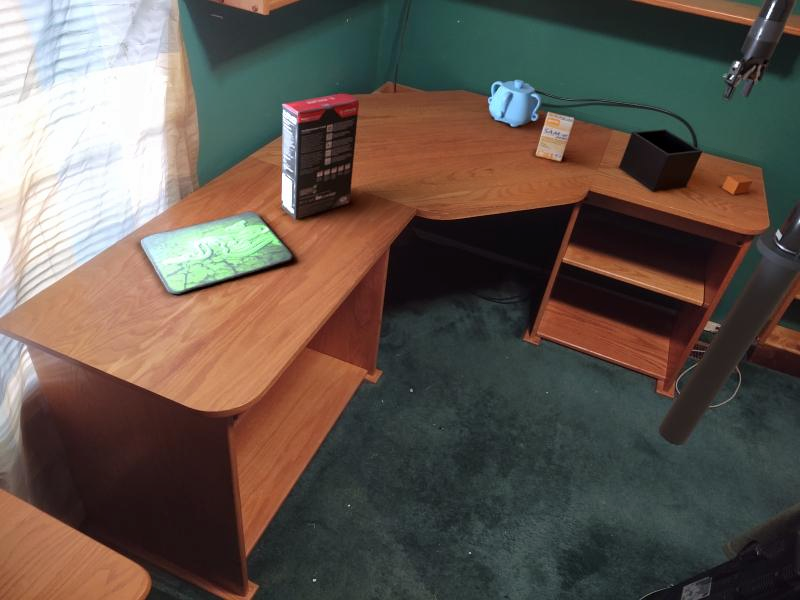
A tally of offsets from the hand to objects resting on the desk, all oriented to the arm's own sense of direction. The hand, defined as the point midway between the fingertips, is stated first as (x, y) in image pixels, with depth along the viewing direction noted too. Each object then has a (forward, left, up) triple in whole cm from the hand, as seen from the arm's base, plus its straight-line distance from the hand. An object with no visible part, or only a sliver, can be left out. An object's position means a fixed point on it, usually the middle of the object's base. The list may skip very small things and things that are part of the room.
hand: (734, 97), depth 165 cm
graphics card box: (+14, +115, -28) cm, 119 cm away
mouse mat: (+1, +142, -28) cm, 145 cm away
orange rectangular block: (-5, -13, -28) cm, 31 cm away
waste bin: (+8, +9, -28) cm, 30 cm away
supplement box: (+27, +35, -28) cm, 53 cm away
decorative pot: (+55, +32, -28) cm, 70 cm away
